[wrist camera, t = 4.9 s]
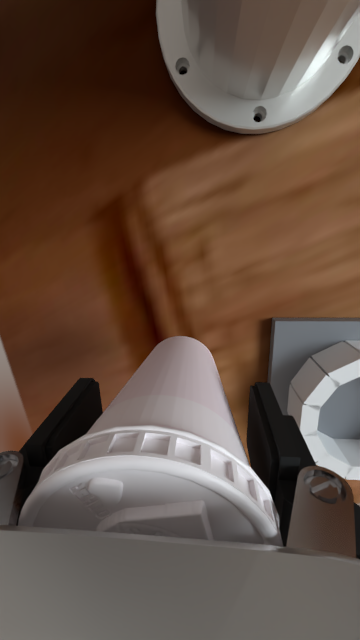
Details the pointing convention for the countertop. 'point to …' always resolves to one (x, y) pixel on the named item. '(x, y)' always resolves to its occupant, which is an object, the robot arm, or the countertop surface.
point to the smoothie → (160, 461)
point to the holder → (320, 386)
